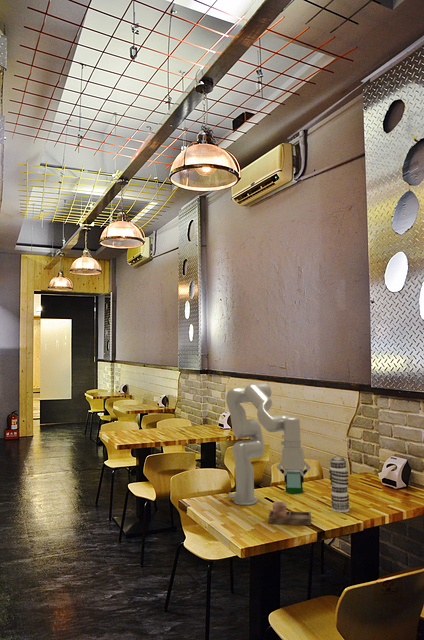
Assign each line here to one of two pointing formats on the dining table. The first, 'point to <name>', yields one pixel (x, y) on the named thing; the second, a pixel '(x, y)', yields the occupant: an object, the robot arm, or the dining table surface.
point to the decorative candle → (339, 484)
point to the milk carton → (294, 490)
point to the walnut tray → (288, 515)
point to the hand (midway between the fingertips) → (294, 483)
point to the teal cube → (293, 479)
